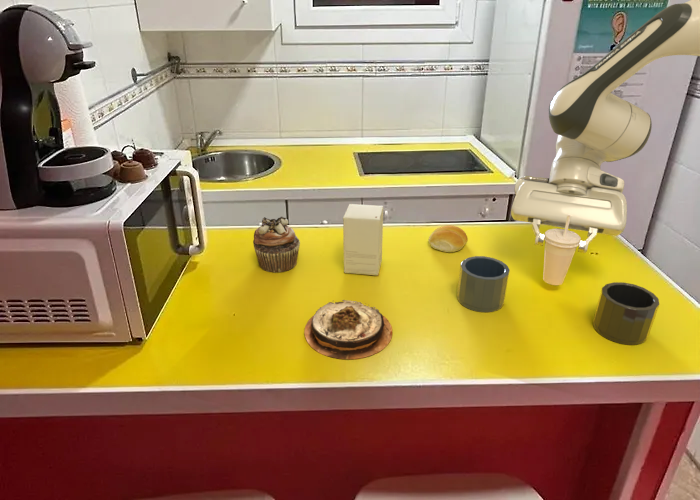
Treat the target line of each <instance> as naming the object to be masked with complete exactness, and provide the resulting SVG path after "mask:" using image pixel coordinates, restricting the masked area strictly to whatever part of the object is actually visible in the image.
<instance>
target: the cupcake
mask: <svg viewBox="0 0 700 500" xmlns="http://www.w3.org/2000/svg"><path fill="white" fill-rule="evenodd" d="M252 243H253V249H254V252H255V255H256V258H257V262H258V266H259V268H260V269H261V270H263V271H264V272H265V271H266V272H268V273H275V274H276V273H284V272H289V271H290V270H293V269H294V268H295V267H296V266H297V264H298V257H299V251H300V245H301V241H300V238H298V236H297V235H296V232H295V230H294V229H293V228H292V227H291V226H289V219H287V217H283V216H280V217H278V218H277V219H276V218H271V219H270V218H268V217H267V218H266V217H263V218H262V219H261V225H260V226H258V227H257V228H256V229H255V230H254V232H253V241H252Z"/></svg>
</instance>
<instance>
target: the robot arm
mask: <svg viewBox="0 0 700 500" xmlns="http://www.w3.org/2000/svg"><path fill="white" fill-rule="evenodd" d="M671 56H691V57H692V56H693V57H700V0H688V1H686V2H683V3H682V2H681V3H673V4H671V5H669V6H667V7H665V8H664V9H662V10H661V11H659V12H657V13H656V14H655V15H654V16H652V17H651V18H649V19H648V20H647V21H646V22H644V24H642V25H641V26H640V27H638V28H637V29H636V30H634V31H633V32H632V33H631V34H630V35H628V36H627V37H626V38H625V39H624V40H623V41H621V42H620V43H619V44H618V45H617V46H615V47H614V48H613V49H612V50H610V52H607V54H605V55H604V56H603V57H602V58H601V59H600V60H598V61H597V62H595V64H593V65H592V66H591V67H590V68H589V69H587V70H586V71H584V72H583V73H582V74H580V75H579V76H577V77H575V78H574V79H572V80H571V81H569V82H567V83H565V85H562V87H561V88H560V89H558V91H557V92H555V95H554V96H553V97H552V99H551V101H550V103H549V106H548V120H549V123H550V126H551V129H552V131H553V132H554V133H555V134H556V135H557V139H556V142H555V157H554V159H553V160H552V163H551V167H550V172H549V177H541V176H540V177H539V176H532V175H525V176H523V177H520V178H518V179H517V180H516V182H515V185H514V189H513V191H514V194H515V196H514V199H513V201H512V206H511V208H510V210H511V211H510V215H511V218H512V219H513V220H514V221H519V222H524V223H530V224H532V225H531V229H532V231H533V234H534V236H535V239H534V245H535V246H543V245H544V242H545V240H544V236H545V233H541V232H540V227H541V225H543V226H549V227H550V226H551V227H556V228H561V229H565V225H566V220H567V215H571V217H570V222H569V226H568V230H569V229H570V230H575V231H580V232H587V238H586V240H580V245H579V246H578V248H577V253H581V254H587V252H588V249H589V245H590V244H591V243H592V242H593V241H594V240H595V239H596V237H597V234H600V235H607V236H611V237H618V236H620V235H621V234H623V233H624V231H625V229H626V226H627V219H628V204H627V203H628V202H627V197H626V196H625V194H624V193H623V192H624V189H625V180H624V179H623V178H621V177H618V176H616V175H613V174H611V173H608V172H606V171H604V170H602V169H601V165H602V164H603V163H605V162H607V163H612V162H616V161H621V160H624V159H628V158H630V157H632V156H635V155H636V154H638V153H639V152H640V151H642V150H643V149H644V147H645V146H646V144H647V143H648V141H649V138H650V137H651V133H652V128H653V127H652V126H653V125H652V124H653V123H652V118H651V115H650V114H649V113H648V112H646V111H645V110H643V109H641V107H638V106H637V105H635V104H633V103H631V102H629V101H628V100H625V99H623V98H621V97H619V96H618V95H616V94H614V93H612V92H613V91H614V90H616V89H617V88H619V87H620V86H621V85H622V84H624V83H625V82H626V81H628V80H629V79H630V78H632V77H633V76H634V75H635V74H637V73H638V72H639V71H640V70H642V69H643V68H644V67H646V66H647V65H649V64H650V63H652V62H654V61H656V60H659V59H661V58H666V57H671Z"/></svg>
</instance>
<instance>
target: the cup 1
mask: <svg viewBox="0 0 700 500" xmlns="http://www.w3.org/2000/svg"><path fill="white" fill-rule="evenodd" d="M510 272H511V271H510V268H509V266H508V264H506V263H505V262H504V261H501V260H499V259H497V258H495V257H490V256H486V255H485V256H484V255H475V256H471V257H470V256H469V257H467V258H465V259H463V260H462V261H461V263H460V267H459V274H458V283H457V292H456V294H457V296H456V299H457V301H458V303H459V304H460V305H461V306H463V307H464V308H466V309H468V310H470V311H474V312H478V313H493V312H496V311H499V310H501V309H502V308H503V306H504V303H505V300H506V294H507V288H508V281H509V276H510Z"/></svg>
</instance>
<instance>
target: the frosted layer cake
mask: <svg viewBox="0 0 700 500" xmlns="http://www.w3.org/2000/svg"><path fill="white" fill-rule="evenodd" d="M303 332H304V337H305V340H306V342H307V344H308V345H309V346H310V347H311V348H312V349H313V350H315V351H316V352H317V353H318V354H321V355H323V356H326V357H330V358H333V359H338V360H358V359H363V358H367V357H368V358H369V357H370V356H373V355H376V354H378V353H379V352H381V351H382V350H384V349H385V348H386V347H387V346H388V345H389V344H390V342H391V340H392V338H393V326H392V324H391V322H390V321H389V319H388V318H387V317H386V316H385V315H383V314H382V313H381V312H380V310H379V309H378V308H376V307H375V306H370V305H366V304H363V303H362V302H361V301H356V300H348V299H346V300H345V299H342V300H341V301H338V302H337V301H335V302H333V301H332V302H331V301H330V302H329V301H328V303H325V304H324V305H323V306H321V307H319V308H318V309H317V310H316V311H315V314H313V315H312V316H310V318H309V319H308V321H307V322H306V324H305V327H304V331H303Z"/></svg>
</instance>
